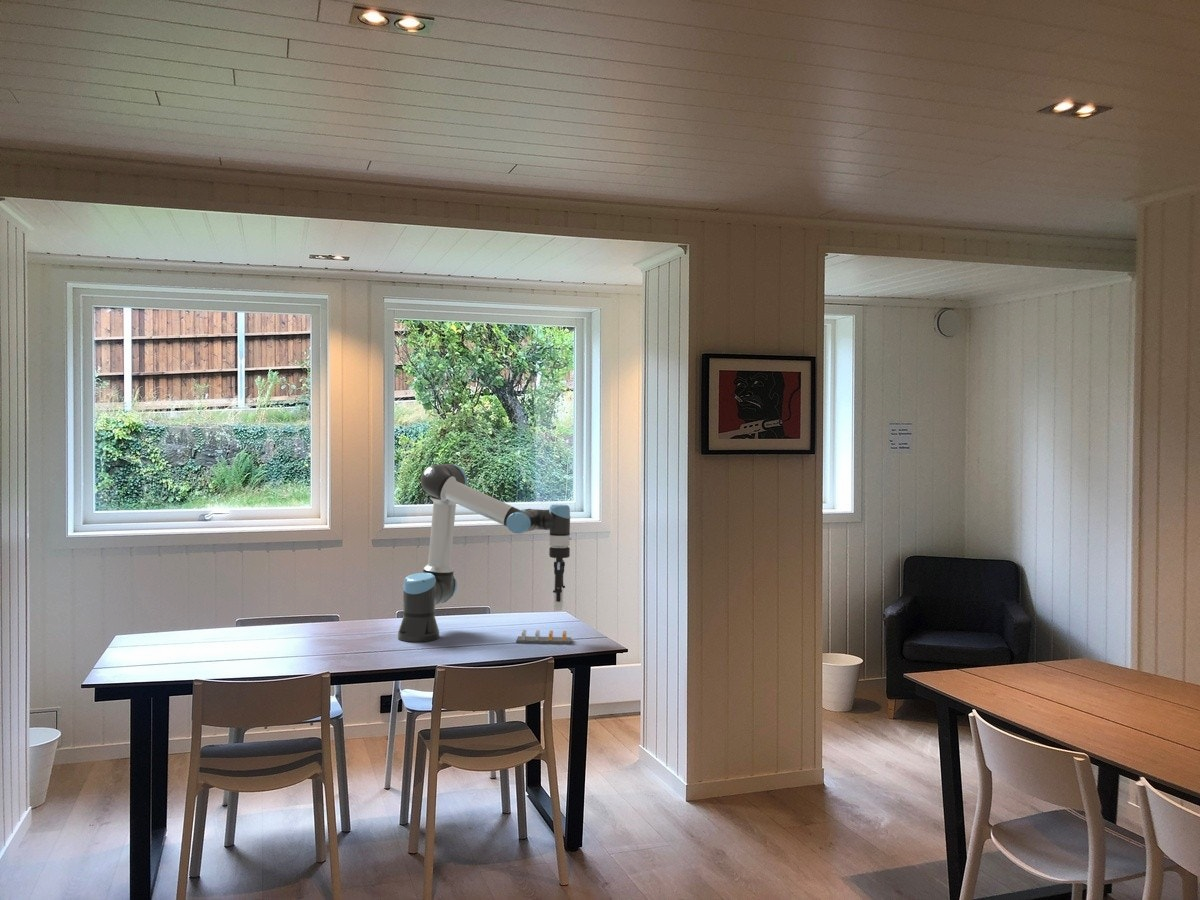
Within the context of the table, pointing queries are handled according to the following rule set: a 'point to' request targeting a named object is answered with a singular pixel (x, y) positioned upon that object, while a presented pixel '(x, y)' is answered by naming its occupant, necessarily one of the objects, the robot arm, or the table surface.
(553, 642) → the rack
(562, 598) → the panel
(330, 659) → the table surface
